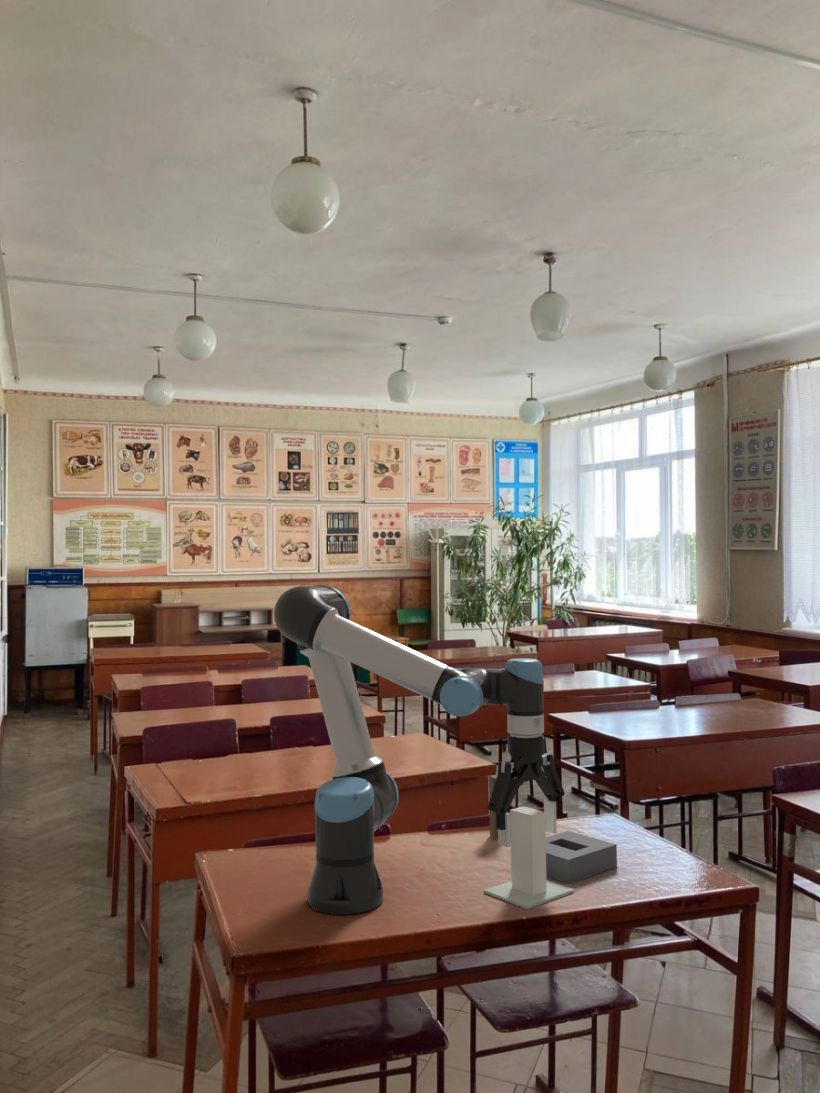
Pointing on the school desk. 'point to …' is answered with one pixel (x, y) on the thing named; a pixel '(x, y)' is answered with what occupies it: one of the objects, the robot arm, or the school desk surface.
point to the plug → (528, 850)
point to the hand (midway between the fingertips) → (528, 838)
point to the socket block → (578, 856)
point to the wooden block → (492, 814)
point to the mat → (525, 899)
